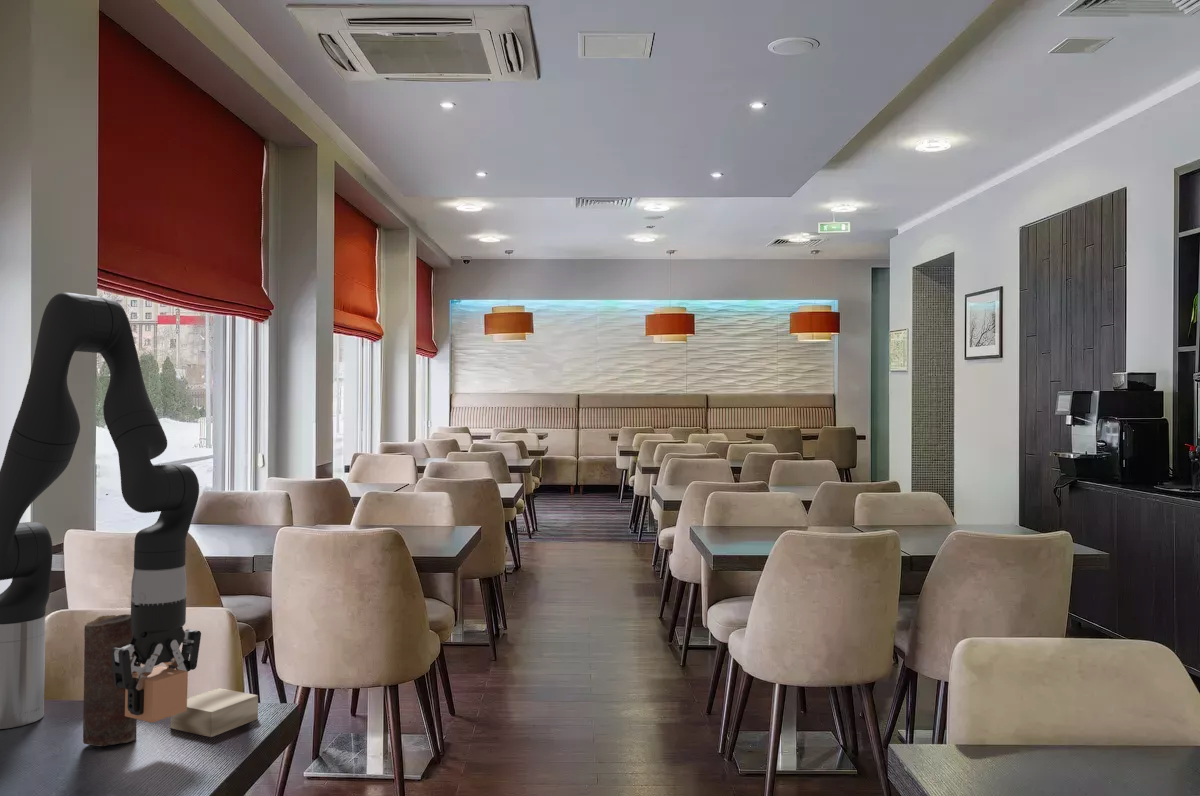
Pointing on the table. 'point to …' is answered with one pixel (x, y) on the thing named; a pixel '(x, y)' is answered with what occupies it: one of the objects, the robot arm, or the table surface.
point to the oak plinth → (216, 712)
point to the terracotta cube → (162, 694)
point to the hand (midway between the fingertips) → (156, 707)
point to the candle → (105, 683)
